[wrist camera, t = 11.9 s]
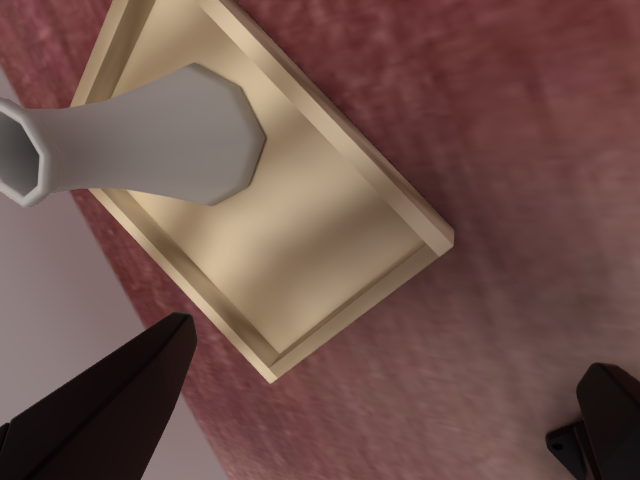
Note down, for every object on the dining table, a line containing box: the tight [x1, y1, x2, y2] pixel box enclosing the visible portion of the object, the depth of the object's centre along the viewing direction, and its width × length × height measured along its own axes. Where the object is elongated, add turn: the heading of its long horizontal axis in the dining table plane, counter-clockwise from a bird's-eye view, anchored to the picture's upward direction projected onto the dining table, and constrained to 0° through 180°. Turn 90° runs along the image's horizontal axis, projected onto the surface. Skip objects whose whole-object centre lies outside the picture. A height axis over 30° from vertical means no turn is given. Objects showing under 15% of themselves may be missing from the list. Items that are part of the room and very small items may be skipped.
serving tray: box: [70, 0, 454, 384], centre depth 20 cm, size 20×14×2 cm
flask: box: [0, 62, 265, 208], centre depth 16 cm, size 7×7×10 cm
